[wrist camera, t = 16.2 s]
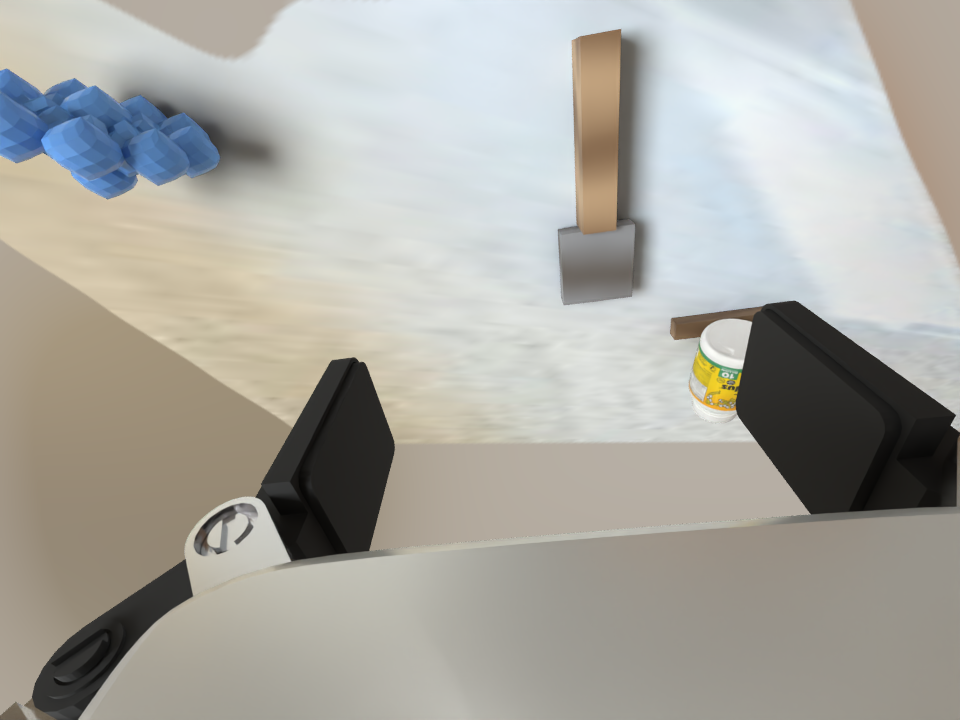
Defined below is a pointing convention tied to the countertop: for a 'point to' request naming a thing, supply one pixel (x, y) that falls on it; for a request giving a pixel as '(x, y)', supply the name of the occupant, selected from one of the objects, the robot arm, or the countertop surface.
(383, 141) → the countertop surface
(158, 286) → the countertop surface
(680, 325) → the stop strip
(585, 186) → the turner
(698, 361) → the supplement bottle
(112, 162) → the grapes
